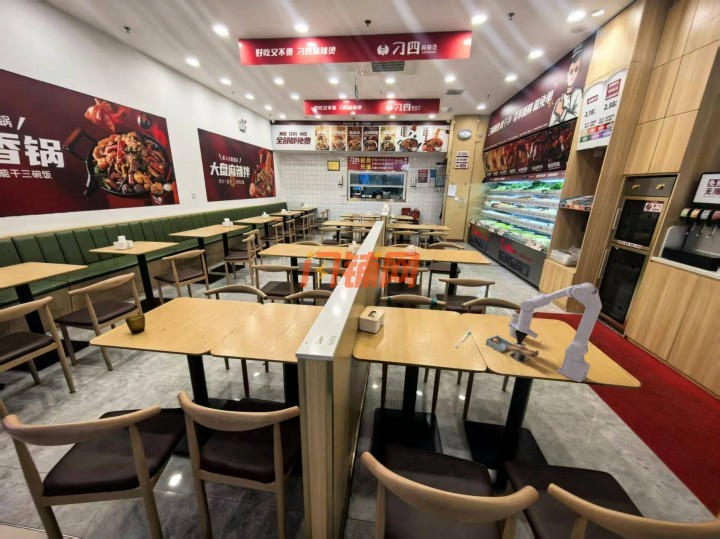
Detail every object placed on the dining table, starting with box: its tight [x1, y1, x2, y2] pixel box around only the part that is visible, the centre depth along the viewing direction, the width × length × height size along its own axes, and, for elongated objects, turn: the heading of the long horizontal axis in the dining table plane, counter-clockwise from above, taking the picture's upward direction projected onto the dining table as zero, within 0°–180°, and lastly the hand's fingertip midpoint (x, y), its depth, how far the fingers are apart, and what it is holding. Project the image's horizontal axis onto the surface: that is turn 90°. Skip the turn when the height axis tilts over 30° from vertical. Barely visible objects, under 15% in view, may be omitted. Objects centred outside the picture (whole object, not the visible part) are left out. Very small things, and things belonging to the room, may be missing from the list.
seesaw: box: [505, 341, 539, 359], centre depth 144 cm, size 14×12×2 cm
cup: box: [508, 313, 520, 339], centre depth 164 cm, size 8×8×12 cm
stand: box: [509, 346, 531, 364], centre depth 143 cm, size 6×7×5 cm
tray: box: [485, 334, 514, 353], centre depth 153 cm, size 9×9×4 cm
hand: (519, 343), depth 150 cm, fingers closed
